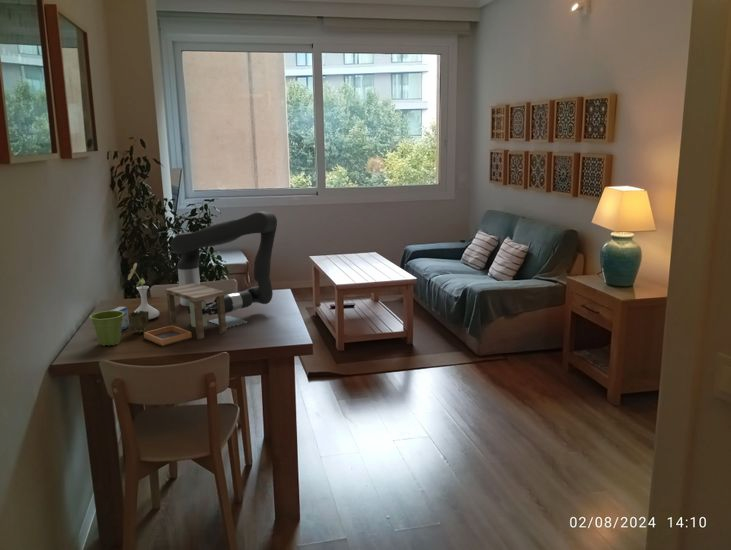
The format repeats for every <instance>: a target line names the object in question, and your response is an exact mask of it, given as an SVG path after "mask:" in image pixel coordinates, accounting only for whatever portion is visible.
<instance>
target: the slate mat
mask: <svg viewBox="0 0 731 550" xmlns="http://www.w3.org/2000/svg"><path fill="white" fill-rule="evenodd" d="M225 318H226V327H227V328H226V329H229V328H228V327H230V328H232V327H231V326H233V327H236V326H235V325H237V326H239V325H238V324H241V325H243V324H242V323H244V324H247V323H246V322H248V321H247V320H244V319H241V318H237V317H234V316H231V315H225ZM210 322H211V323H210ZM207 323H210V324H213V323H214V324H213V325H216V324H217V326H219V322H218V317H217V318H214V319H209V320H207Z"/></svg>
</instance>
